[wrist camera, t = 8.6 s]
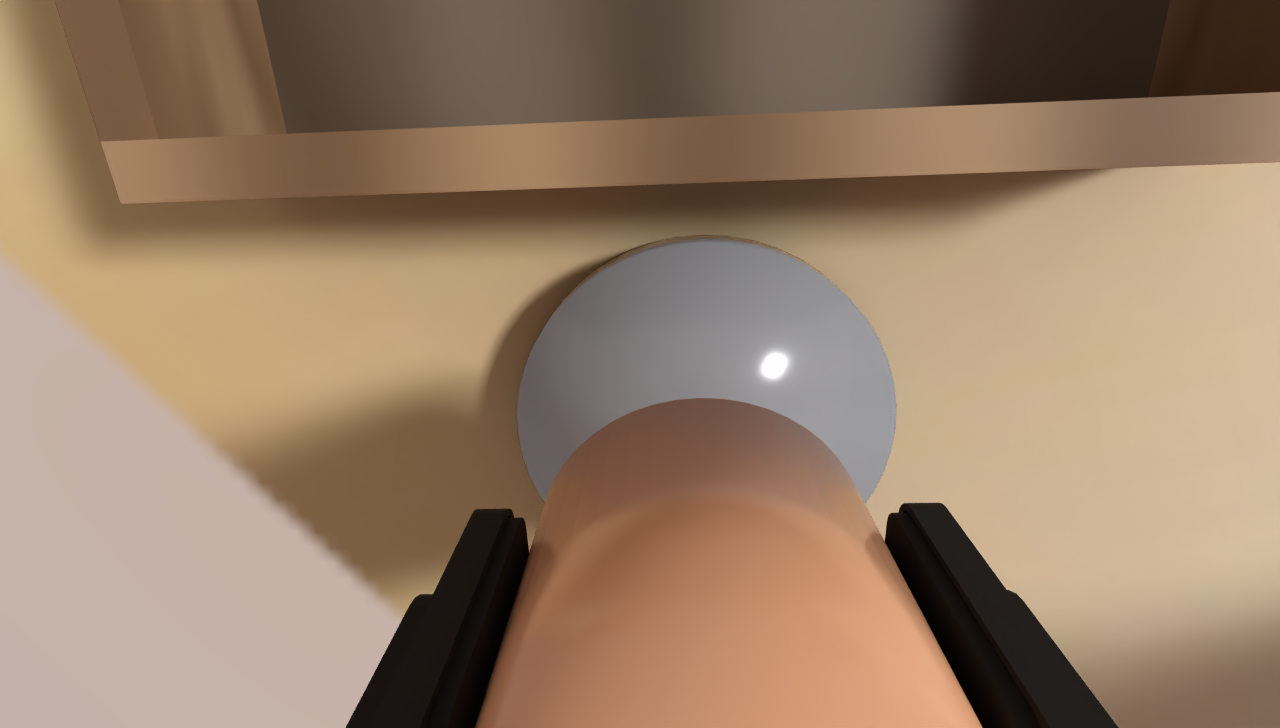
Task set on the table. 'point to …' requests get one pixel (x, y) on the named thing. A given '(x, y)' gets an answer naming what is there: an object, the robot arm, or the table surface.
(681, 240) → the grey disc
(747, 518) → the peach rounded knob
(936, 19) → the wooden box
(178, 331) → the table surface
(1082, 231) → the table surface
